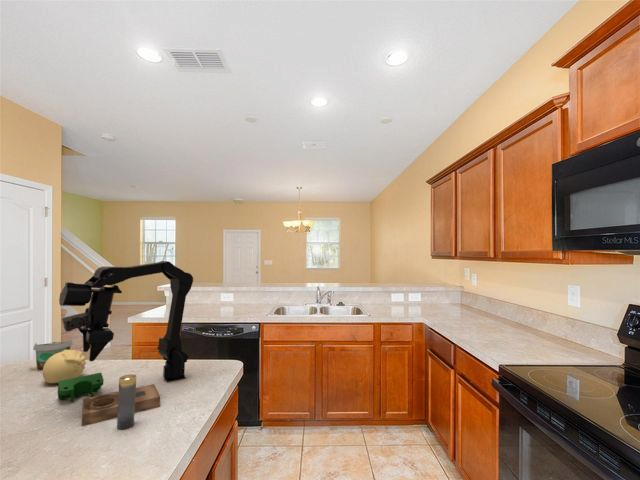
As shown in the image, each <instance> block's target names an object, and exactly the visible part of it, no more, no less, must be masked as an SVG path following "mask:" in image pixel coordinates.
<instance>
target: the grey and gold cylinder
mask: <svg viewBox="0 0 640 480" xmlns="http://www.w3.org/2000/svg"><path fill="white" fill-rule="evenodd" d="M136 388H137V375H136V374H135V373H134V374H125V375H121V376H120V377H119V378H118V391H119V394H118V414H117V417H116V429H117V430H120V431H123V430H129V429H130V428H133V426H134V425H135V394H136Z"/></svg>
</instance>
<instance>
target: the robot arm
mask: <svg viewBox="0 0 640 480" xmlns="http://www.w3.org/2000/svg"><path fill="white" fill-rule="evenodd" d="M160 273H161V274H163V276H164V277H166V278H167V279H168V280H169V281H170V283H169V284H170V285H169V287H170V290H171V294H172V295H171V296H172V297H171V302H170V309H169V314H168V320H167V326H166V331H165V332H166V333H165V334H164V336H163V337H159V338H158V346H157V348H156V349H157V350H158V354H159V355H160V356H161V357H162V359H163V361H165V363H164V364H165V365H163V371H162V373H163V374H162V378H163V379H164V380H165V381H166V382H167V383H169V382H175V381H178V380H179V381H180V380H183V379H186V375H185V369H186V368H185V367H186V365H185V364H186V363H187V362H188V360H189V359H188V358H189V355H188V354H187V353H186V352H184V351H183V341H182V338H181V330H182V323H183V317H184V312H185V306H186V305H185V304H186V300H187V299H186V298H187V295H188V294H189V292H190V291H191V289H192V286H193V283H194V276H193V275H192V274H191V272H185V271H184V270H183V269H181V268H179V267H177V266H176V265H175V264H173V263H172V262H171V261H167V260H161V261H158V262H151V263H144V264H138V265H137V264H136V265H131V266H130V265H129V266H100V267H98V268H97V269H96V270H94V273H93V275H92V276H91V277H89V279H88V280H86V281H85V282H84V283H75V282H70V281H69V282H68V281H67V282H65V286H63V288H62V290H61V292H60V294H59V299H58V301H59V306H61V307H64V306H67V307H69V306H71V307H72V306H73V307H83V306H85V305H87V304H89V306H88V307H86V308H85V311H84V312H82V313H77V314H72V315H70V316H65V317H63V318H61V320H62V325H63V329H64V331H65V332H71V331H73V330H75V329H78V331H79V332H80V333H81V334H82V351H83V352H84V353H87V352H89V356H88V359H89V360H88V361H89V362H94V361H95V360H96V359H97V357H99V355H100V354H101V353H102V351H103V350H104V348H105V347H107V345H108V344H109V343H111V342H112V341H113V340H114V336H115V333H114V332H113V330H111V328H109V325H110V324H109V323H108V321H109V316H110V315H112V310H111V309H112V304H113V300H114V297H115V294H122V293H123V291H122V290H121V289H120V288H119V286H118V285H117V284H119V283H123V282H125V281H127V280H128V279H133V278H137V277H138V278H139V277H143V276H144V277H146V276H149V275H150V276H151V275H155V274H160ZM83 352H82V353H83Z"/></svg>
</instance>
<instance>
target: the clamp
mask: <svg viewBox="0 0 640 480" xmlns="http://www.w3.org/2000/svg"><path fill="white" fill-rule="evenodd" d="M57 384H58V385H57V398H58V399H59V400H60V401H63V400H66V399H69V401H70V403H74V398H75V397H79V396H83V395H89V396H90V397H94V393H95V392H98V391H100V390H101V389H102V386H104V377H103V374H102V372H96V373H91V374H86V375H82V376H81V375H80V376H79V377H77V378H72V379H67V380H62V381H59V383H57Z"/></svg>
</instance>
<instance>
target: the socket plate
mask: <svg viewBox="0 0 640 480" xmlns="http://www.w3.org/2000/svg"><path fill="white" fill-rule="evenodd" d="M118 394H119V390H118V391H113V392H109V393H104V394H98V395H93V397H91V396H90V397H86V398H83V399H82V414H81V427H84V426H88V425H91V424H96V423H99V422H103V421H107V420H111V419H117V414H118ZM159 407H161V395H160V393H159V391H158V389H157V387H156V385H155V383H152V384H148V385H143V386H142V385H141V386H139V387H138V386H136V394H135V413H139V412H143V411H147V410H151V409H152V410H153V409H155V408H159Z"/></svg>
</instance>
